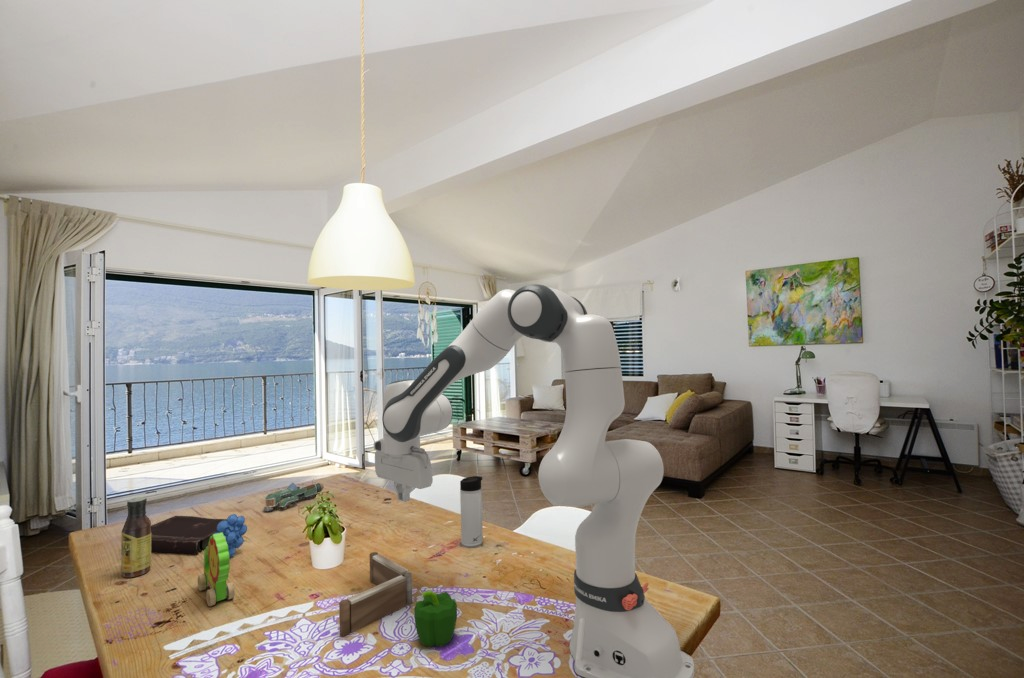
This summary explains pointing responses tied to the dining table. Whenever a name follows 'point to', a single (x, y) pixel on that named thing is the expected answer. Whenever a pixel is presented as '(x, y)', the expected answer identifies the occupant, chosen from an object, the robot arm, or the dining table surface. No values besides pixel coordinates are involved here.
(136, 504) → the sauce bottle
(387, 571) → the hinged panel
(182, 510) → the dining table surface
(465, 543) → the travel mug
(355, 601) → the fixed fence
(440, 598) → the bell pepper
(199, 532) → the diary
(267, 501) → the hoverbike
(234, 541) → the grapes
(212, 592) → the toy lion
